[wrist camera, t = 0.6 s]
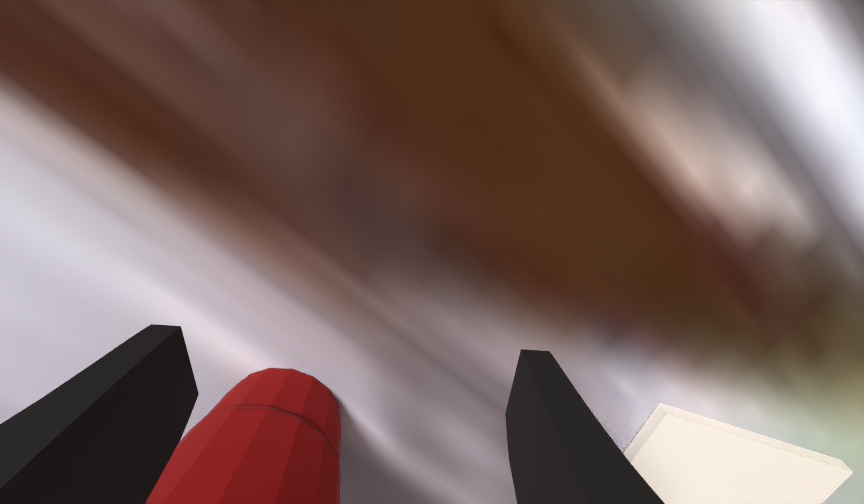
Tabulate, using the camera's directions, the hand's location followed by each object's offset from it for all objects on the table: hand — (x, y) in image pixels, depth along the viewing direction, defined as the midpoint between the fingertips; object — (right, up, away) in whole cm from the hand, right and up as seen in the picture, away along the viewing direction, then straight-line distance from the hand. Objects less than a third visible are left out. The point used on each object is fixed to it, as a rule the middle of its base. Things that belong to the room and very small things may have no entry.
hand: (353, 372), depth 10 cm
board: (+16, -12, +17) cm, 26 cm away
